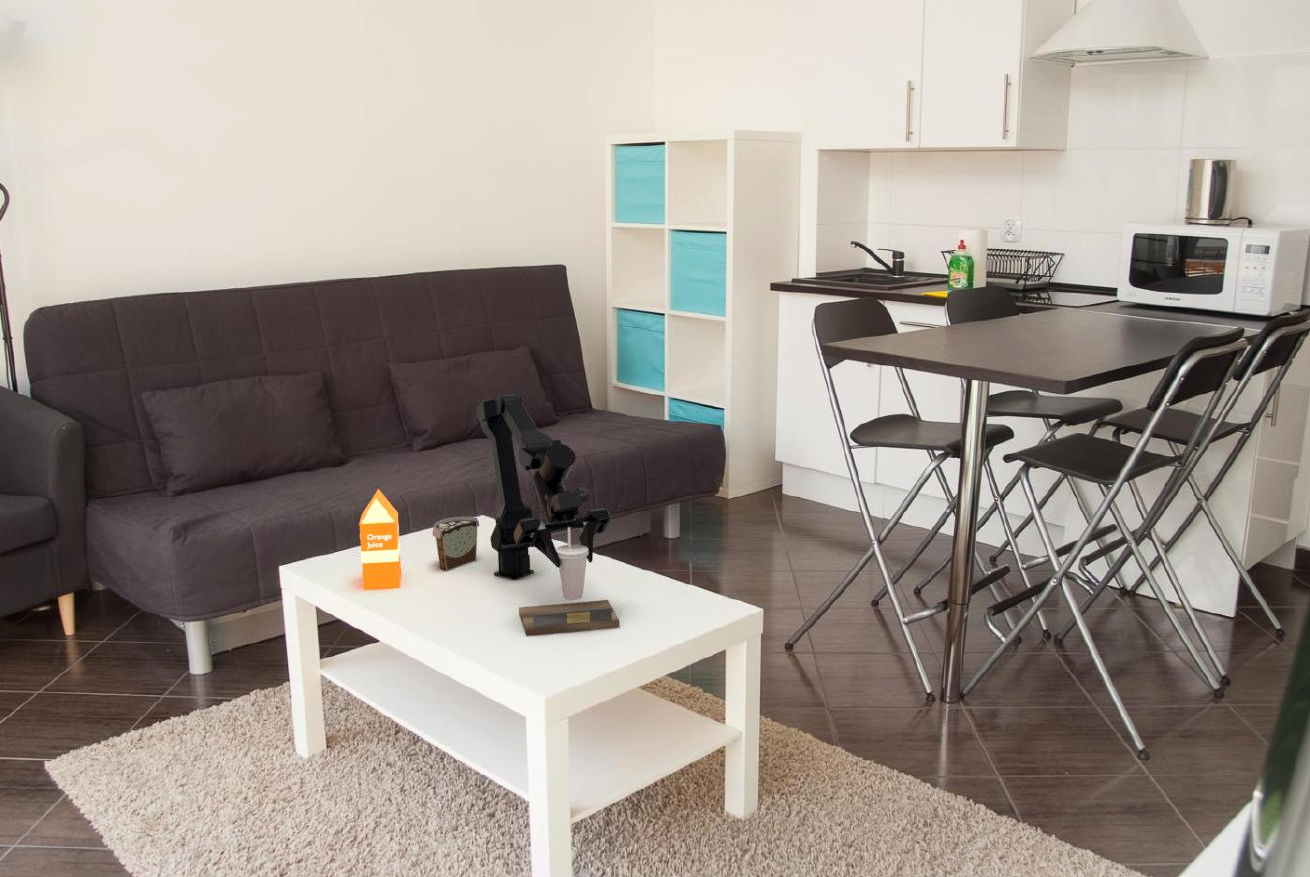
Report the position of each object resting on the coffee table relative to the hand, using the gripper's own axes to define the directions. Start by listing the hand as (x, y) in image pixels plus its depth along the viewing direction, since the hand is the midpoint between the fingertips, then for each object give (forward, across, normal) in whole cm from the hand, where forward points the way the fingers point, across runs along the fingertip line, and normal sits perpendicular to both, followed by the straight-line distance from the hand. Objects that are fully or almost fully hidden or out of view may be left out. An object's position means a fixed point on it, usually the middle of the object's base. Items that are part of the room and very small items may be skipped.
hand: (575, 564), depth 225 cm
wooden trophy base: (+7, -1, +10) cm, 12 cm away
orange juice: (-21, -27, +40) cm, 53 cm away
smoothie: (+4, 0, +6) cm, 7 cm away
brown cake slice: (-26, -10, +44) cm, 52 cm away
